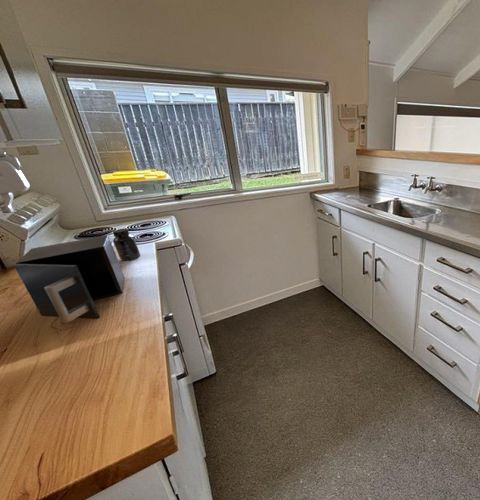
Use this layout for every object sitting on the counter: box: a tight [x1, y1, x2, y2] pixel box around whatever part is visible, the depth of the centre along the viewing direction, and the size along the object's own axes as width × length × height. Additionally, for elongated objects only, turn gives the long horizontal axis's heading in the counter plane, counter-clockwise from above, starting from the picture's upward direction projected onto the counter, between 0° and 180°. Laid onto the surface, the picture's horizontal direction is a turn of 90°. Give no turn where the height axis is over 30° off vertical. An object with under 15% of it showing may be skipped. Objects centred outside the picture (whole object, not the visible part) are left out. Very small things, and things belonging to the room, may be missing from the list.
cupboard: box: [15, 234, 126, 302], centre depth 86 cm, size 13×18×16 cm
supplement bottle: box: [112, 228, 141, 262], centre depth 113 cm, size 7×7×12 cm
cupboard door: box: [13, 263, 101, 324], centre depth 72 cm, size 7×18×16 cm, turn 83°
